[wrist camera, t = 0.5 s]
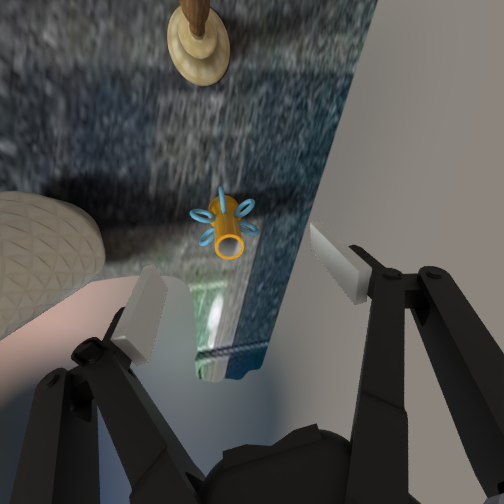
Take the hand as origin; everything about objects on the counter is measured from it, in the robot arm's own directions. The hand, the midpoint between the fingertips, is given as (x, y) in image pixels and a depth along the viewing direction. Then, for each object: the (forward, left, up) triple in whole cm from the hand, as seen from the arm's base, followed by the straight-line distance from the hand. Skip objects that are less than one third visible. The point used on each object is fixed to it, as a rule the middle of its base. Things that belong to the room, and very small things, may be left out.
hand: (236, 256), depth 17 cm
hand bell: (-16, +9, -25) cm, 31 cm away
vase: (-11, -28, -25) cm, 39 cm away
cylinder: (+4, -3, -25) cm, 26 cm away
